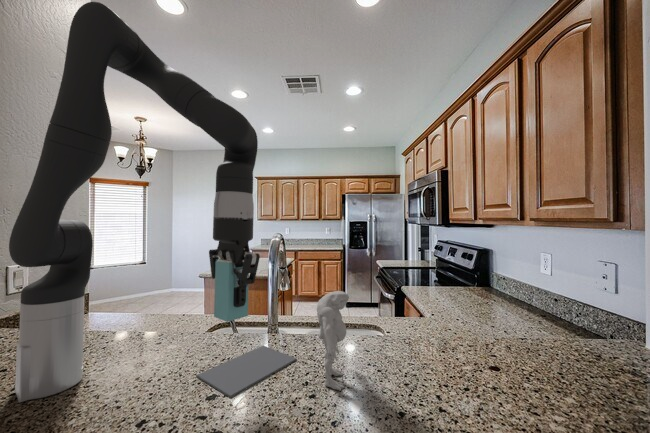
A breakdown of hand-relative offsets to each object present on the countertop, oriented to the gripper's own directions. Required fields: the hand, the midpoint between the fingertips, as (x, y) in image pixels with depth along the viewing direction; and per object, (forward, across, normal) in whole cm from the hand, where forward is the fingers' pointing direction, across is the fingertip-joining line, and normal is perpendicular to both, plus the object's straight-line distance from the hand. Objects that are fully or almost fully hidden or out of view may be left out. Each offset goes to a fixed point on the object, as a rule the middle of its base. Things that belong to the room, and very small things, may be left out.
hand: (231, 303), depth 54 cm
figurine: (+17, +14, +15) cm, 26 cm away
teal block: (+3, 0, 0) cm, 3 cm away
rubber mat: (+17, -4, +8) cm, 19 cm away
